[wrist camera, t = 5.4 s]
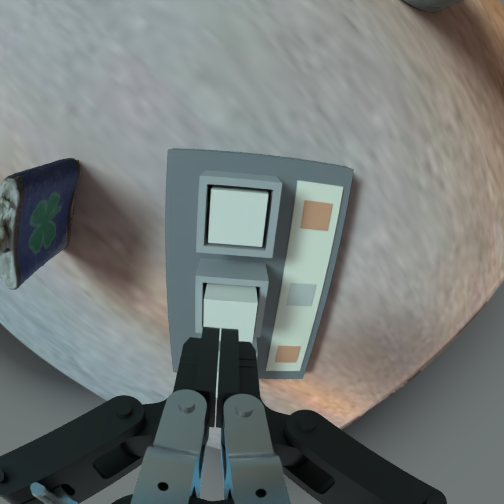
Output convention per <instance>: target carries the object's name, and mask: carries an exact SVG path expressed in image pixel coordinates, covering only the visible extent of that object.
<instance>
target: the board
mask: <svg viewBox="0 0 504 504" xmlns="http://www.w3.org/2000/svg"><path fill="white" fill-rule="evenodd" d="M353 170H354V169H351V168H348V167H345V166H340V165H334V164H328V163H322V162H316V161H309V160H302V159H295V158H288V157H280V156H271V155H262V154H252V153H242V152H230V151H216V150H198V149H169V150H168V156H167V176H166V212H165V247H166V283H167V303H168V319H169V332H170V344H171V355H172V364H173V372H177V371H178V367H179V363H180V357H181V353H182V348H183V344H184V343H185V342H186V341H187V340H188V339H189V338H190V337H194V338H201V337H202V330H203V326H204V296H205V291H206V286H207V283H215V284H227V285H241V286H255V287H256V291H257V301H258V305H257V312H256V320H255V327H254V334H253V341H252V343H251V344H252V345H253V347H254V348H255V350H256V358H257V369H258V378H259V379H303V376H304V373H305V370H306V367H307V364H308V361H309V358H310V355H311V351H312V348H313V345H314V342H315V338H316V335H317V331H318V328H319V324H320V321H321V317H322V314H323V310H324V306H325V303H326V299H327V295H328V291H329V287H330V283H331V279H332V275H333V271H334V267H335V262H336V258H337V254H338V249H339V245H340V240H341V235H342V231H343V226H344V221H345V216H346V211H347V205H348V200H349V194H350V189H351V183H352V177H353ZM213 185H227V186H239V187H251V188H261V189H266V190H267V192H268V202H267V210H266V218H265V227H264V235H263V243H262V247H256V246H244V245H231V244H219V243H208V235H209V217H210V201H211V189H212V187H213ZM220 342H221V341H219V351H218V355H220Z"/></svg>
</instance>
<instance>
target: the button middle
mask: <svg viewBox="0 0 504 504" xmlns="http://www.w3.org/2000/svg"><path fill="white" fill-rule="evenodd" d="M257 305H258V301H257V291H256V287H255V286H241V285H227V284H215V283H207V286H206V291H205V296H204V326H203V327H214V328H220V335H219V341H221V328H227V329H238V331H239V341H245V342H251V343H252V341H253V334H254V327H255V320H256V312H257Z"/></svg>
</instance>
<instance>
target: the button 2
mask: <svg viewBox="0 0 504 504" xmlns="http://www.w3.org/2000/svg"><path fill="white" fill-rule="evenodd" d="M267 202H268V192H267V190H266V189H261V188H251V187H239V186H227V185H213V187H212V189H211V201H210V217H209V235H208V243H219V244H231V245H244V246H256V247H262V243H263V235H264V227H265V218H266V210H267Z"/></svg>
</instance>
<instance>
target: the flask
mask: <svg viewBox="0 0 504 504" xmlns="http://www.w3.org/2000/svg"><path fill="white" fill-rule="evenodd" d="M80 175H81V167H80V164H79V160H75V159H73V158H67V159H62V160H57V161H55V162H52V163H49V164H45V165H42V166H39V167H35V168H32V169H28V170H25V171H22V172H18V173H15V174H13V175H10V176H8V177H7V178H5V179H4V181H3V183H2V184H1V188H0V276H1V279H2V281H3V283H4V284H5V285H6V286H7V287H8V288H9V289H12V290H14V289H17V288H19V286H20V285H21V284H22V283H23V282H24V281H25V280H26V279H28V278H29V277H30V276H31V275H32V274H33V273H34V272H35V271H36V270H38V269H39V268H40V267H41V266H43V265H44V264H45V263H46V262H47V261H48V260H50V259H51V258H52V257H54V256H55V255H56V254H58V253H59V252H60V251H62V250H63V249H65V248H66V246H67V244H68V242H69V238H70V235H71V232H69V230H70V223H71V220H72V216H73V214H74V213H73V211H74V208H73V199H74V198H75V197H76V196H75V195H76V194H75V190H76V187H77V185H78V182H79V179H80Z"/></svg>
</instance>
